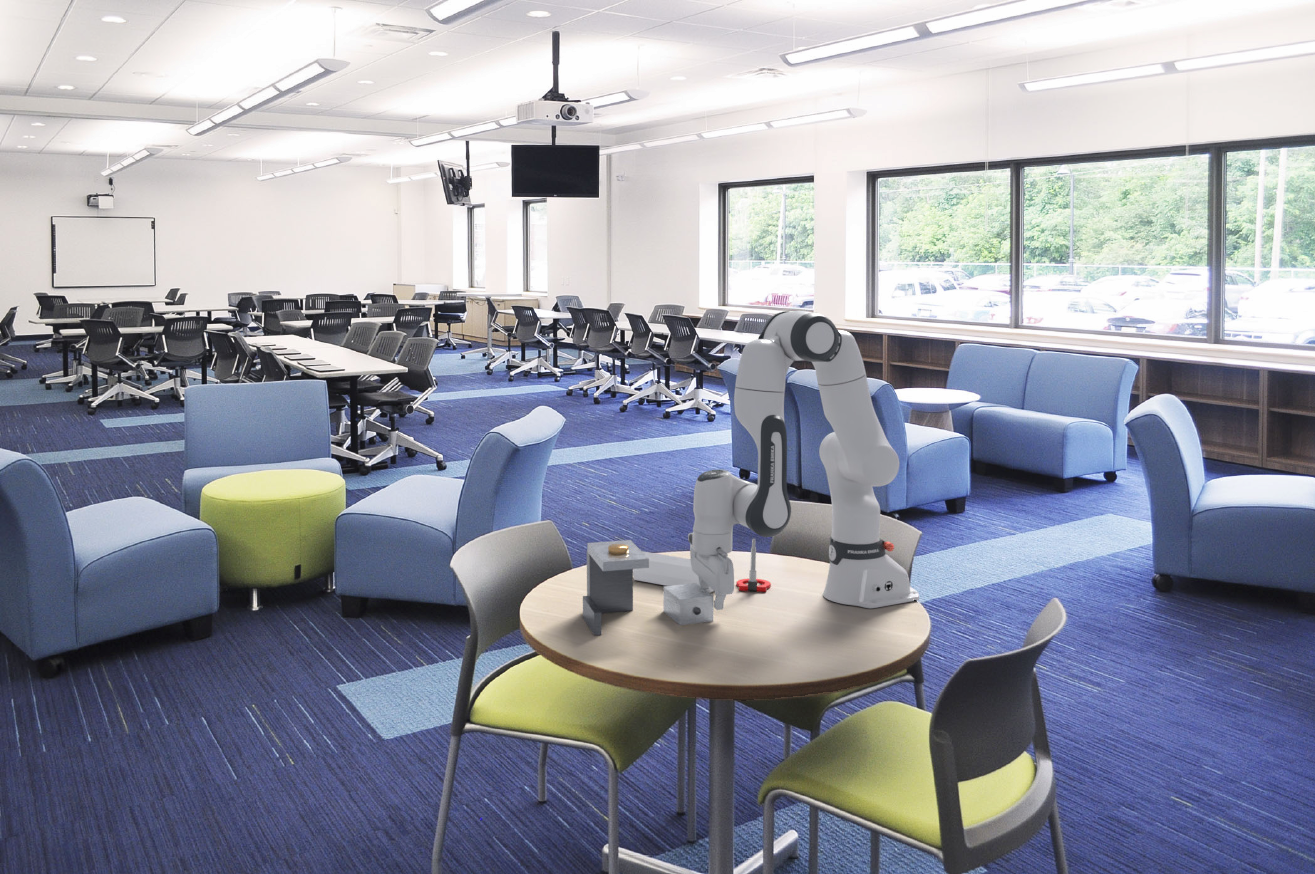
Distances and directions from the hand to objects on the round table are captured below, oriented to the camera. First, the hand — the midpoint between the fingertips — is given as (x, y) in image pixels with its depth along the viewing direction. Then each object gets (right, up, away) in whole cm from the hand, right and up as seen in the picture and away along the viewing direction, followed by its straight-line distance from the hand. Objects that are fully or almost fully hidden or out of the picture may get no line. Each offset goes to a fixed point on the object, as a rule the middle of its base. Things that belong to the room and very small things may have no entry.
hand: (711, 602), depth 238 cm
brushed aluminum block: (-5, -3, -1) cm, 6 cm away
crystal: (-8, 0, +23) cm, 24 cm away
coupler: (-22, -3, -4) cm, 23 cm away
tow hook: (+11, 0, +21) cm, 24 cm away
